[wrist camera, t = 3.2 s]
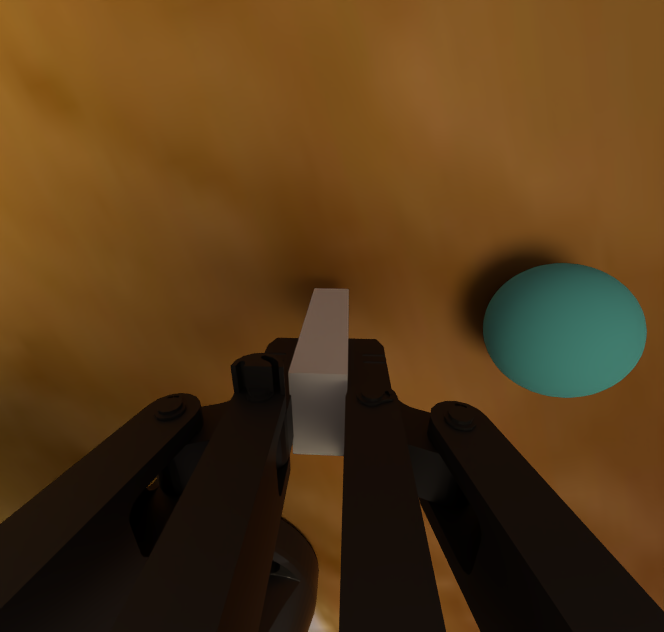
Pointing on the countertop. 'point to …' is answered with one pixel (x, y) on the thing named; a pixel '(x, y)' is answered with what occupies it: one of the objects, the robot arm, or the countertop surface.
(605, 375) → the ball
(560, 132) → the countertop surface
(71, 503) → the robot arm
